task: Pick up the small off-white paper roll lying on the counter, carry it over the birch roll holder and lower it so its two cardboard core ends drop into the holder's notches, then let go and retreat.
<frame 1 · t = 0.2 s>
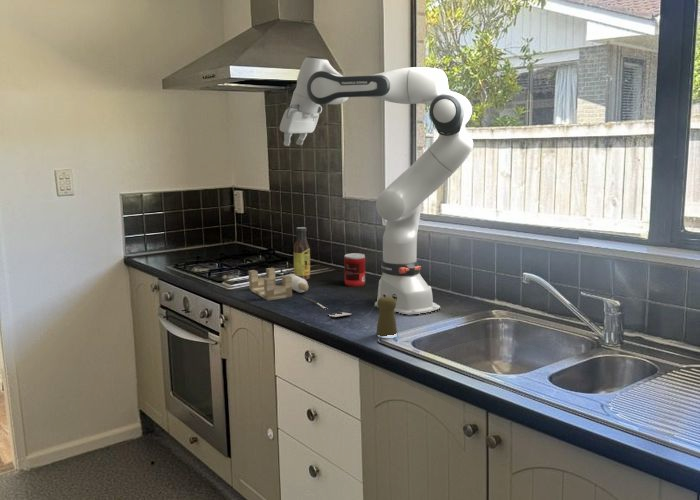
hand: (292, 145, 226), 52 cm above the worktop, tool tilted 20°, fingers open, 8 cm apart
olive green tall figure: (386, 336, 189), on the worktop
roll: (296, 289, 241), on the worktop
canned food: (354, 284, 248), on the worktop
holder: (270, 293, 236), on the worktop
sauce bottle: (302, 279, 258), on the worktop
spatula: (322, 309, 219), on the worktop
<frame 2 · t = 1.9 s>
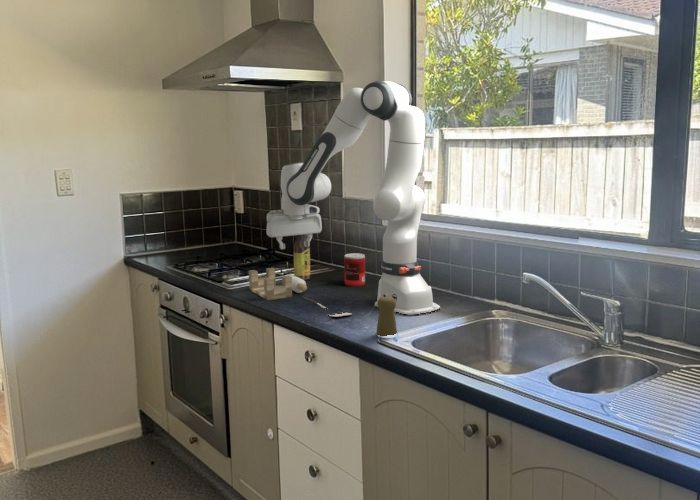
hand: (294, 247, 238), 15 cm above the worktop, tool pointing down, fingers open, 8 cm apart
roll: (296, 289, 241), on the worktop, tilted 15°
everything else where it was.
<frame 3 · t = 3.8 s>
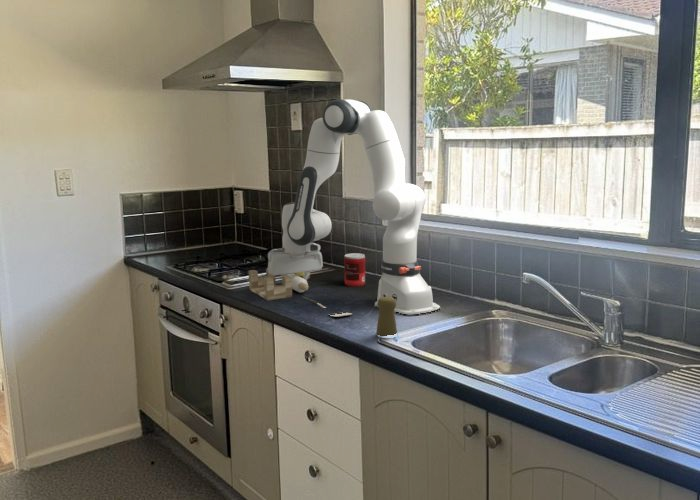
hand: (295, 284, 241), 2 cm above the worktop, tool pointing down, fingers closed on roll, 5 cm apart
roll: (296, 289, 241), on the worktop, touching gripper
everything else where it was.
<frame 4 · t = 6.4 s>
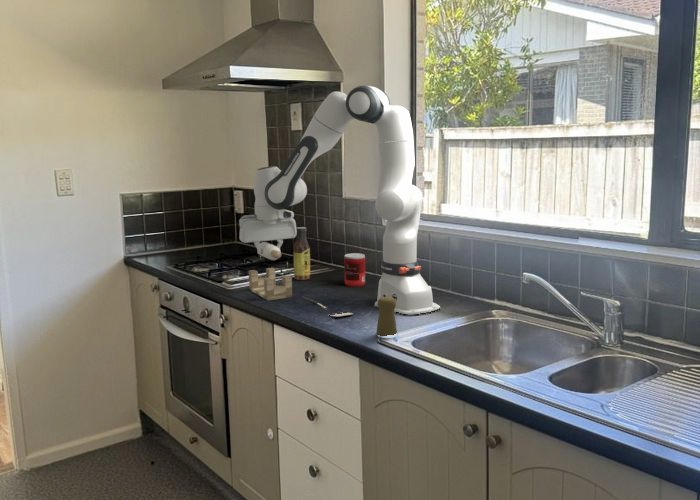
hand: (268, 252, 234), 14 cm above the worktop, tool pointing down, fingers closed on roll, 5 cm apart
roll: (269, 258, 234), point 13 cm above the worktop, touching gripper
everything else where it was.
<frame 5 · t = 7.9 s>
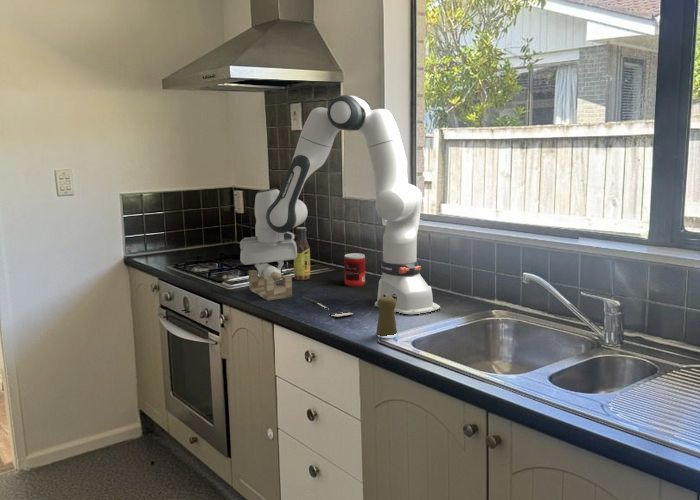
hand: (269, 274, 235), 7 cm above the worktop, tool pointing down, fingers closed on roll, 5 cm apart
roll: (269, 279, 236), point 5 cm above the worktop, touching gripper
everything else where it was.
when the fingers open (6 cm above the worktop, at t = 9.0 s): roll drops 1 cm, resting on holder.
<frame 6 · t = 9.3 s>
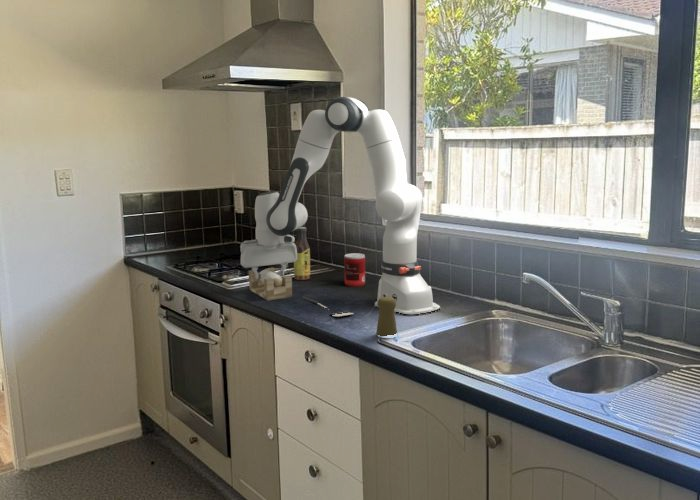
hand: (269, 277, 235), 6 cm above the worktop, tool pointing down, fingers open, 7 cm apart
roll: (270, 285, 236), point 3 cm above the worktop, touching holder
everything else where it was.
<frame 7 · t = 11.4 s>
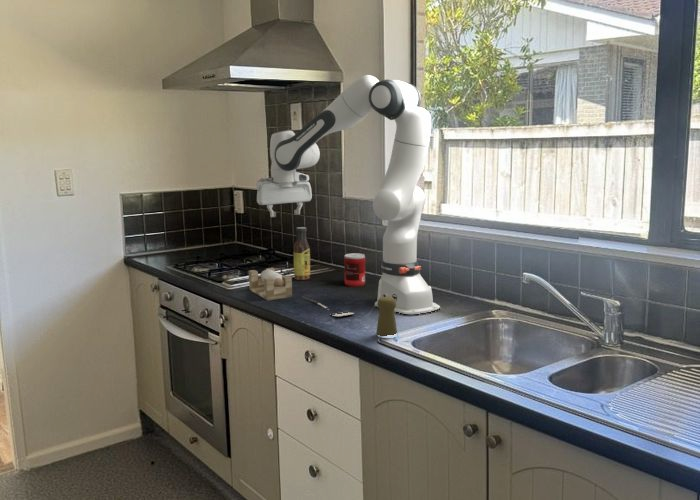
hand: (285, 215, 240), 26 cm above the worktop, tool pointing down, fingers open, 8 cm apart
roll: (268, 284, 235), point 3 cm above the worktop, tilted 43°, touching holder
everything else where it was.
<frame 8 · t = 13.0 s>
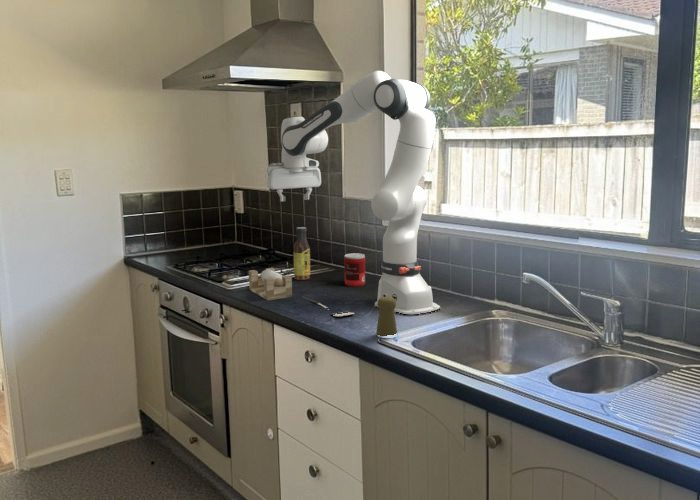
hand: (294, 200, 244), 31 cm above the worktop, tool pointing down, fingers open, 8 cm apart
nothing on the worktop moved.
at the end: roll 0.7 cm off-centre on the holder, point 3.4 cm above the holder's base; the gripper is holding nothing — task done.
